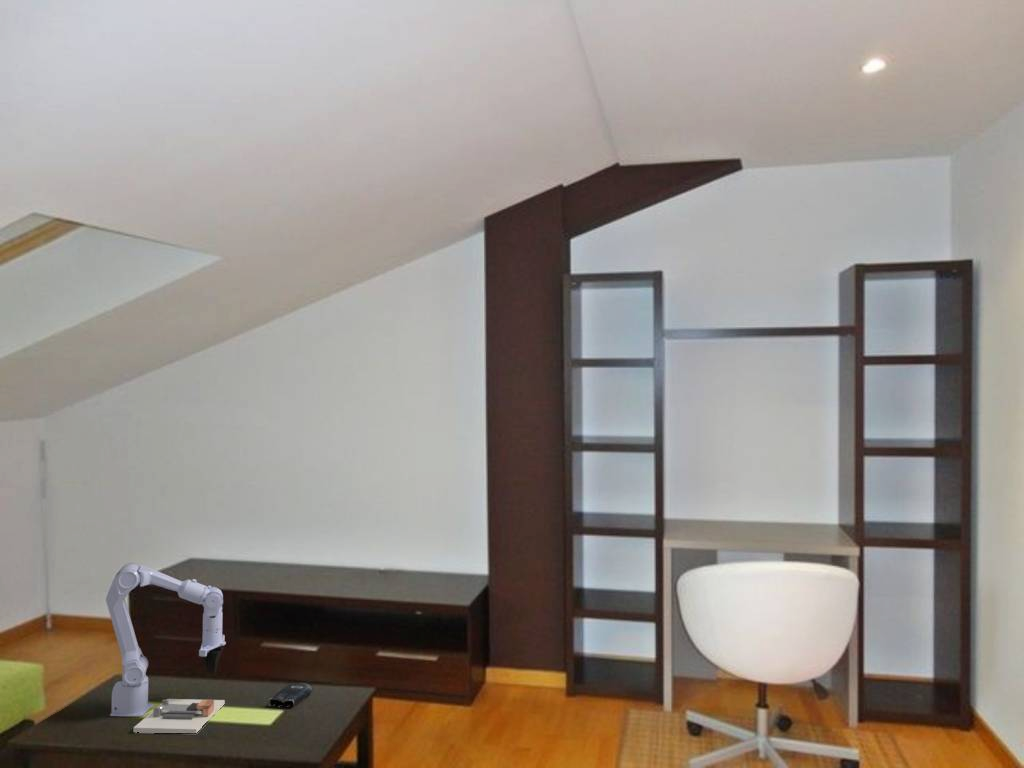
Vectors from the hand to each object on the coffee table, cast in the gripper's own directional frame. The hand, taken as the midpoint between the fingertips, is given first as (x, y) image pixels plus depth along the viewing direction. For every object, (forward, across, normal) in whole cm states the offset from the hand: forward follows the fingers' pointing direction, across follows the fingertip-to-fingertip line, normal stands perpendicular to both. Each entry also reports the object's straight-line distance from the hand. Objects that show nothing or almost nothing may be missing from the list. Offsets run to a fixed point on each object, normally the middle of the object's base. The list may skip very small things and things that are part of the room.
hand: (211, 671), depth 236 cm
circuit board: (+9, -12, +4) cm, 16 cm away
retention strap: (+7, -12, +4) cm, 15 cm away
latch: (+8, -12, -3) cm, 15 cm away
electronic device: (+10, +4, -24) cm, 26 cm away
